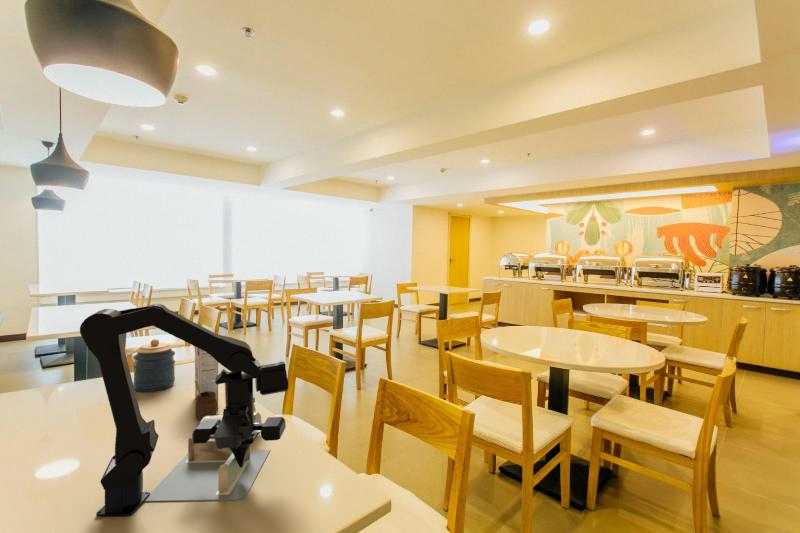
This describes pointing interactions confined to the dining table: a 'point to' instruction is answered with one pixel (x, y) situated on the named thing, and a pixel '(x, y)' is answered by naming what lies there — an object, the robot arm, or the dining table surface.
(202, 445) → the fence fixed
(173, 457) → the dining table surface
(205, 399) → the utensil holder
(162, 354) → the canister
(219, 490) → the fence panel
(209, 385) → the cracker box
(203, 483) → the card
